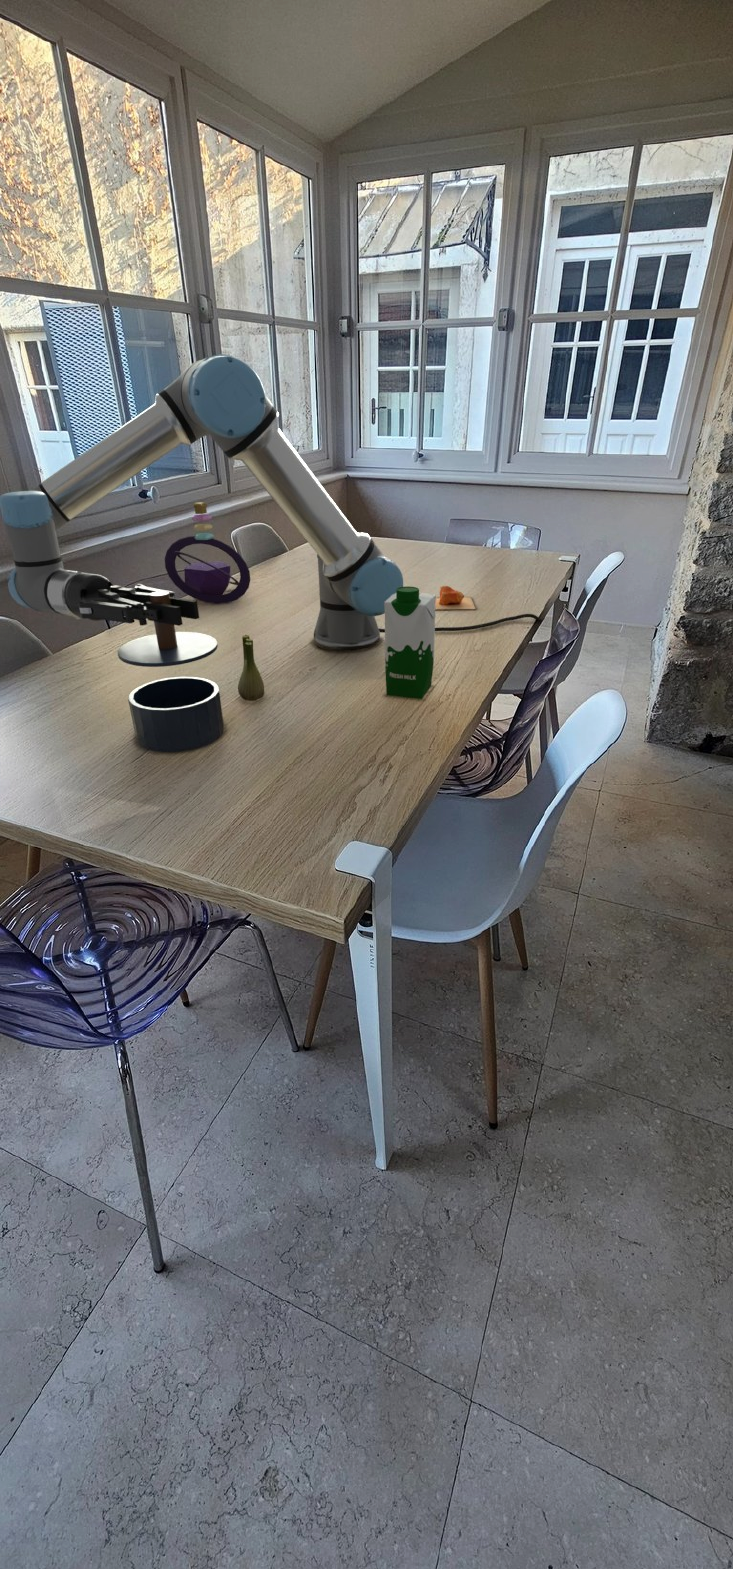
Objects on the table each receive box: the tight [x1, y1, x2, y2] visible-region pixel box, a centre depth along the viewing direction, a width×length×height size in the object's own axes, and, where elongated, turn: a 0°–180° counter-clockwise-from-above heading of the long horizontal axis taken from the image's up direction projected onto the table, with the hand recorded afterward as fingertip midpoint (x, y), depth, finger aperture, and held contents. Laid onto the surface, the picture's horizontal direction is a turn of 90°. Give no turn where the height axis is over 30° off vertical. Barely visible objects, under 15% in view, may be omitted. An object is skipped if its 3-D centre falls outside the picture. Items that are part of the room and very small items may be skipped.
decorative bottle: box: [164, 501, 251, 605], centre depth 193 cm, size 22×21×25 cm
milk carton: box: [384, 586, 437, 700], centre depth 130 cm, size 9×9×20 cm
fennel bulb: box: [237, 634, 265, 702], centre depth 129 cm, size 6×5×12 cm
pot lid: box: [117, 590, 218, 668], centre depth 110 cm, size 16×16×10 cm
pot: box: [127, 676, 225, 754], centre depth 118 cm, size 15×15×8 cm
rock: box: [435, 585, 476, 611], centre depth 187 cm, size 12×12×4 cm
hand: (187, 613), depth 107 cm, fingers closed on pot lid, 3 cm apart
